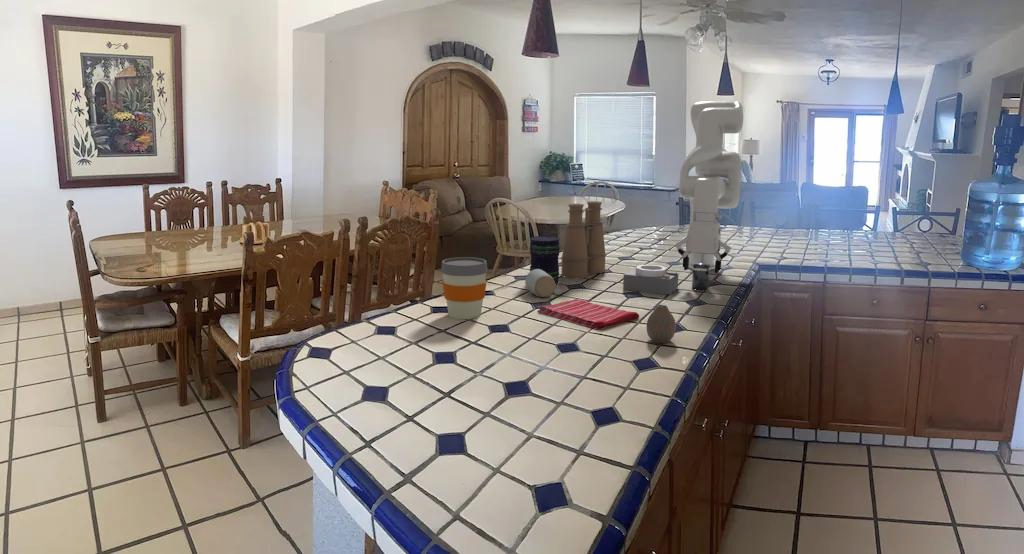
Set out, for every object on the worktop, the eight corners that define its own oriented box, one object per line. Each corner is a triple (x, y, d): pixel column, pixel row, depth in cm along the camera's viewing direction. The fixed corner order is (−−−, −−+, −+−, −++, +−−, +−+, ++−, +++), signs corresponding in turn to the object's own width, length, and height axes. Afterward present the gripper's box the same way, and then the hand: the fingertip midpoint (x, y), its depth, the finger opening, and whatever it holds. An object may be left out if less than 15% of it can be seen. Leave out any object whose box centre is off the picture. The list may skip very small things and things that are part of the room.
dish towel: (599, 332, 173) (600, 322, 172) (536, 313, 190) (536, 304, 189) (641, 320, 184) (642, 311, 183) (577, 303, 201) (578, 295, 200)
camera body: (632, 283, 225) (633, 262, 224) (677, 288, 218) (678, 267, 217) (623, 289, 217) (623, 268, 215) (669, 294, 210) (670, 272, 208)
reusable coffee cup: (492, 319, 182) (492, 264, 179) (446, 322, 179) (445, 267, 176) (481, 307, 194) (481, 256, 191) (438, 310, 191) (437, 258, 187)
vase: (652, 334, 169) (654, 300, 167) (679, 339, 165) (681, 305, 163) (641, 341, 164) (642, 306, 162) (668, 347, 160) (670, 311, 158)
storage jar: (549, 287, 220) (550, 241, 216) (523, 283, 225) (524, 238, 221) (564, 281, 228) (565, 237, 225) (538, 278, 233) (539, 235, 230)
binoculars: (577, 280, 230) (579, 206, 225) (554, 275, 237) (555, 204, 231) (611, 271, 245) (614, 202, 240) (589, 267, 251) (591, 199, 246)
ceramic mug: (535, 299, 203) (535, 274, 202) (524, 293, 211) (525, 269, 209) (566, 297, 207) (567, 272, 206) (555, 291, 215) (556, 267, 213)
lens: (693, 286, 222) (695, 261, 220) (710, 288, 219) (712, 263, 217) (689, 289, 217) (691, 264, 215) (706, 291, 214) (708, 266, 213)
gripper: (735, 218, 212) (731, 271, 215) (680, 215, 220) (677, 266, 223) (730, 220, 206) (726, 275, 209) (674, 217, 214) (671, 270, 217)
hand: (701, 271), depth 216 cm, fingers open, 9 cm apart
